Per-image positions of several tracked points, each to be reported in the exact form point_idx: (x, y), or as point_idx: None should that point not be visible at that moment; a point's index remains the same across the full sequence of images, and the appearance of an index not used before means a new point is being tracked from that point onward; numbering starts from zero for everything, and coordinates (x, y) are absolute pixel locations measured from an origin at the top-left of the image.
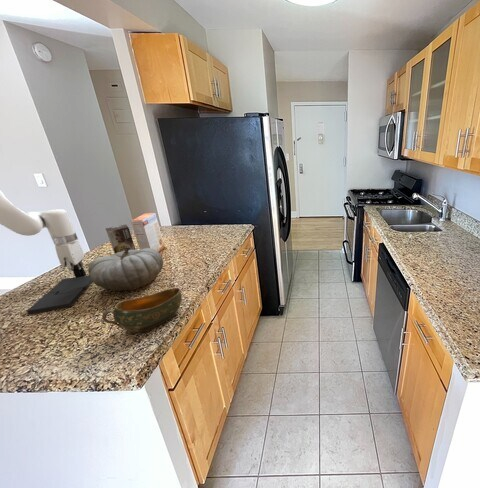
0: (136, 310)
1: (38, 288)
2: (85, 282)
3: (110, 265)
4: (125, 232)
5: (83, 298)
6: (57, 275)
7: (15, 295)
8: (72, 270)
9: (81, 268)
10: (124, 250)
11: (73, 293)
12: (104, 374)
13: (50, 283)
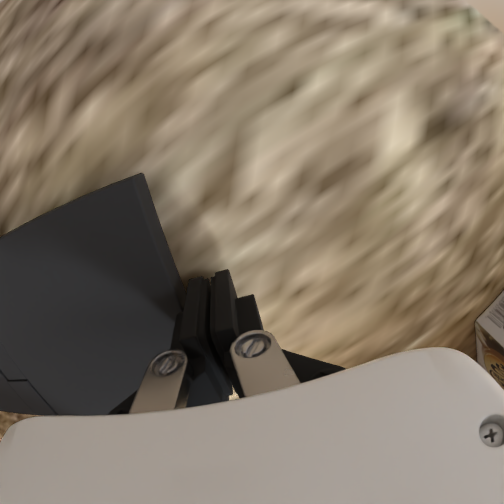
0: None
1: (57, 43)
2: (102, 408)
3: None
4: None
5: (27, 414)
6: (326, 2)
7: (4, 4)
8: (158, 356)
9: (226, 400)
10: (501, 376)
11: (10, 399)
12: None
13: (135, 55)
